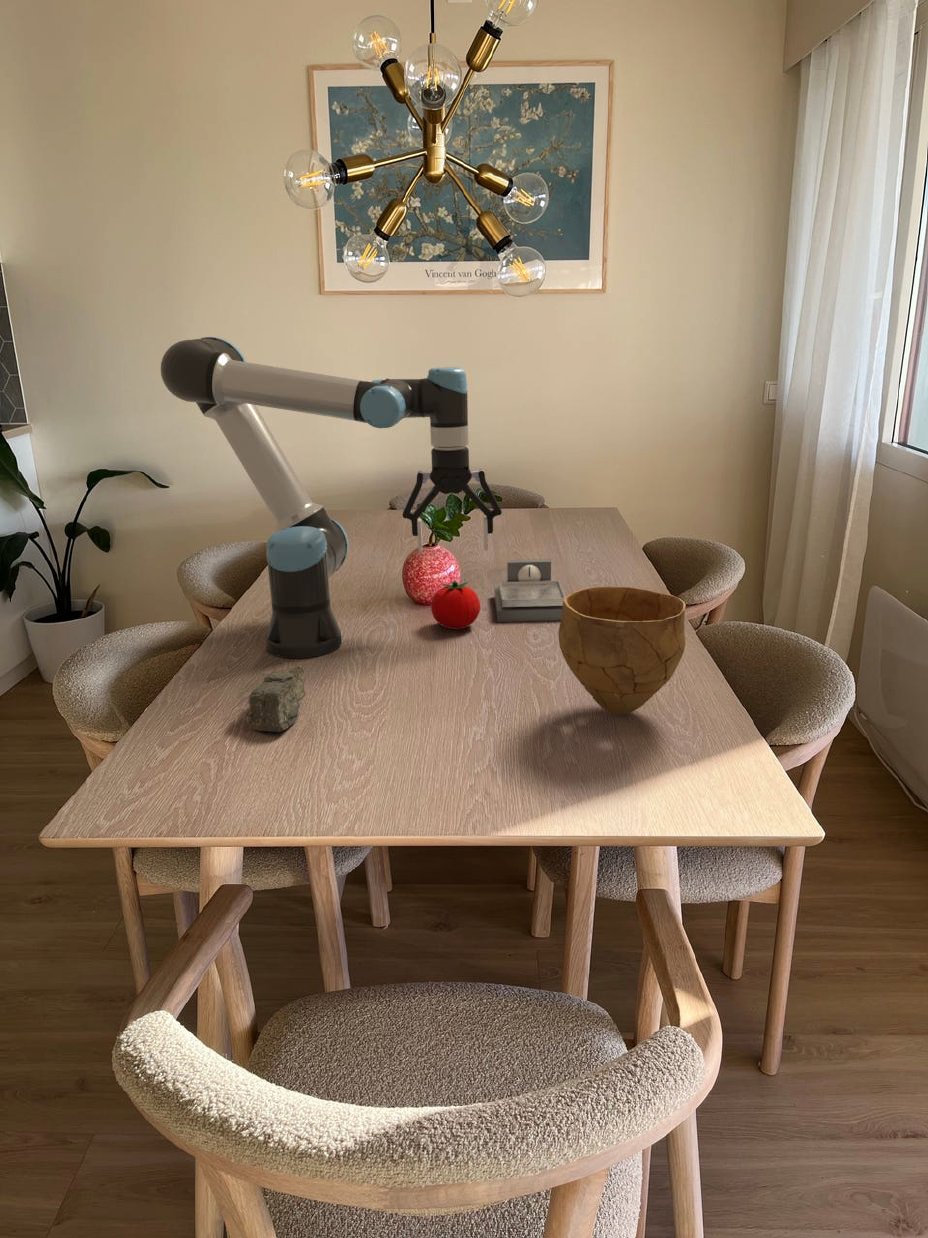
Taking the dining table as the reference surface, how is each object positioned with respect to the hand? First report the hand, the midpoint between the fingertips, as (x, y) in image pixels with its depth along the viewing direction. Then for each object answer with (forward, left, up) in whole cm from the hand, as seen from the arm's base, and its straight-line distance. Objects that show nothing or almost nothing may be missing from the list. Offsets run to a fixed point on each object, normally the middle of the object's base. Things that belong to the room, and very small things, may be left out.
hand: (453, 549), depth 194 cm
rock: (-44, +30, -17) cm, 56 cm away
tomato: (0, 0, -17) cm, 17 cm away
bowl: (-46, -27, -17) cm, 56 cm away
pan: (+10, -17, -14) cm, 25 cm away
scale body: (+12, -17, -17) cm, 27 cm away
